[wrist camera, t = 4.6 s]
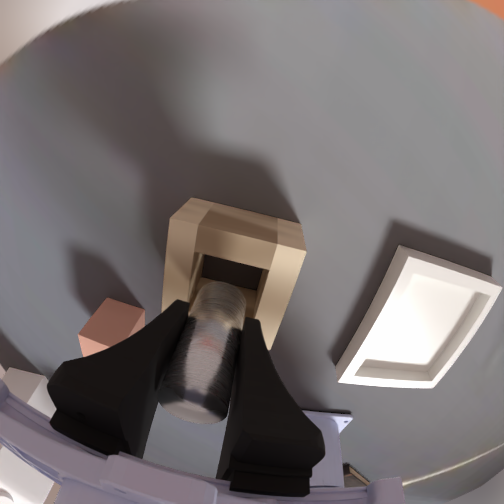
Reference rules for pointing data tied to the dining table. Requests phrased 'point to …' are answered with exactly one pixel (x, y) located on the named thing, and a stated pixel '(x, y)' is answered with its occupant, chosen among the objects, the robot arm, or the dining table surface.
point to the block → (110, 326)
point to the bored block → (234, 257)
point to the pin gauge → (205, 356)
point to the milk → (8, 464)
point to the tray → (417, 322)
